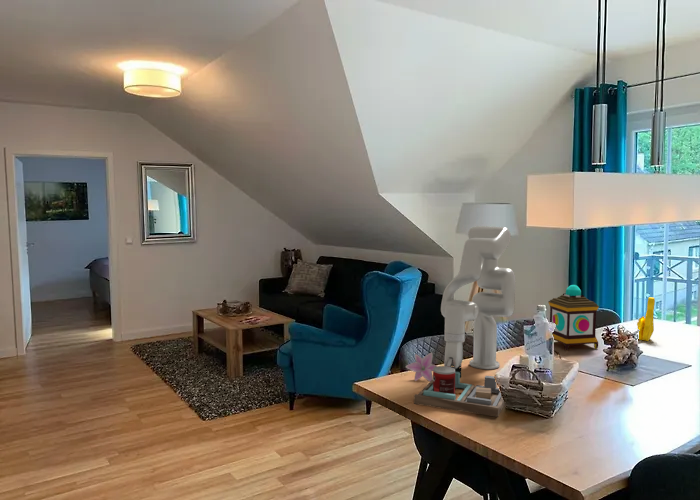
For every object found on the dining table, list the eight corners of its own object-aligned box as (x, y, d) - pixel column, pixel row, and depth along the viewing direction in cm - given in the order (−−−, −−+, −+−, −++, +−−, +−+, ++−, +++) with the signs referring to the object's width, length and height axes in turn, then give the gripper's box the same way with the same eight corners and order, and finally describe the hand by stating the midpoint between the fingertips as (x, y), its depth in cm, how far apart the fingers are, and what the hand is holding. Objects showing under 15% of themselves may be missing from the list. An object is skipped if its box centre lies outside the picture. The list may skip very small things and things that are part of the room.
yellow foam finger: (639, 335, 295) (641, 293, 293) (656, 337, 290) (658, 295, 288) (632, 342, 281) (634, 298, 279) (649, 344, 276) (651, 300, 274)
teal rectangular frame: (437, 383, 218) (437, 369, 217) (472, 387, 212) (472, 373, 212) (420, 401, 198) (420, 386, 197) (457, 407, 192) (458, 392, 192)
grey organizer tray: (476, 388, 212) (477, 374, 211) (505, 392, 207) (505, 377, 207) (463, 408, 191) (463, 392, 191) (494, 413, 187) (494, 397, 187)
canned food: (441, 394, 206) (441, 364, 205) (459, 399, 201) (459, 369, 200) (428, 399, 201) (428, 369, 200) (446, 405, 195) (447, 374, 194)
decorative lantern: (602, 349, 267) (605, 287, 264) (565, 352, 263) (567, 288, 260) (577, 339, 287) (579, 281, 284) (541, 341, 282) (543, 282, 280)
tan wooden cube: (476, 400, 200) (476, 387, 199) (490, 402, 198) (491, 388, 198) (475, 405, 195) (475, 391, 194) (490, 407, 194) (490, 393, 193)
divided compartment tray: (431, 384, 217) (432, 377, 216) (508, 395, 205) (509, 387, 204) (413, 403, 197) (414, 395, 196) (497, 416, 185) (498, 408, 184)
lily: (401, 379, 226) (403, 362, 221) (416, 362, 234) (418, 346, 228) (427, 394, 220) (430, 377, 215) (442, 376, 228) (445, 359, 223)
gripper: (450, 330, 222) (450, 373, 223) (438, 341, 206) (438, 386, 207) (469, 332, 219) (468, 376, 220) (459, 343, 203) (458, 389, 204)
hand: (453, 381), depth 214 cm, fingers open, 9 cm apart
